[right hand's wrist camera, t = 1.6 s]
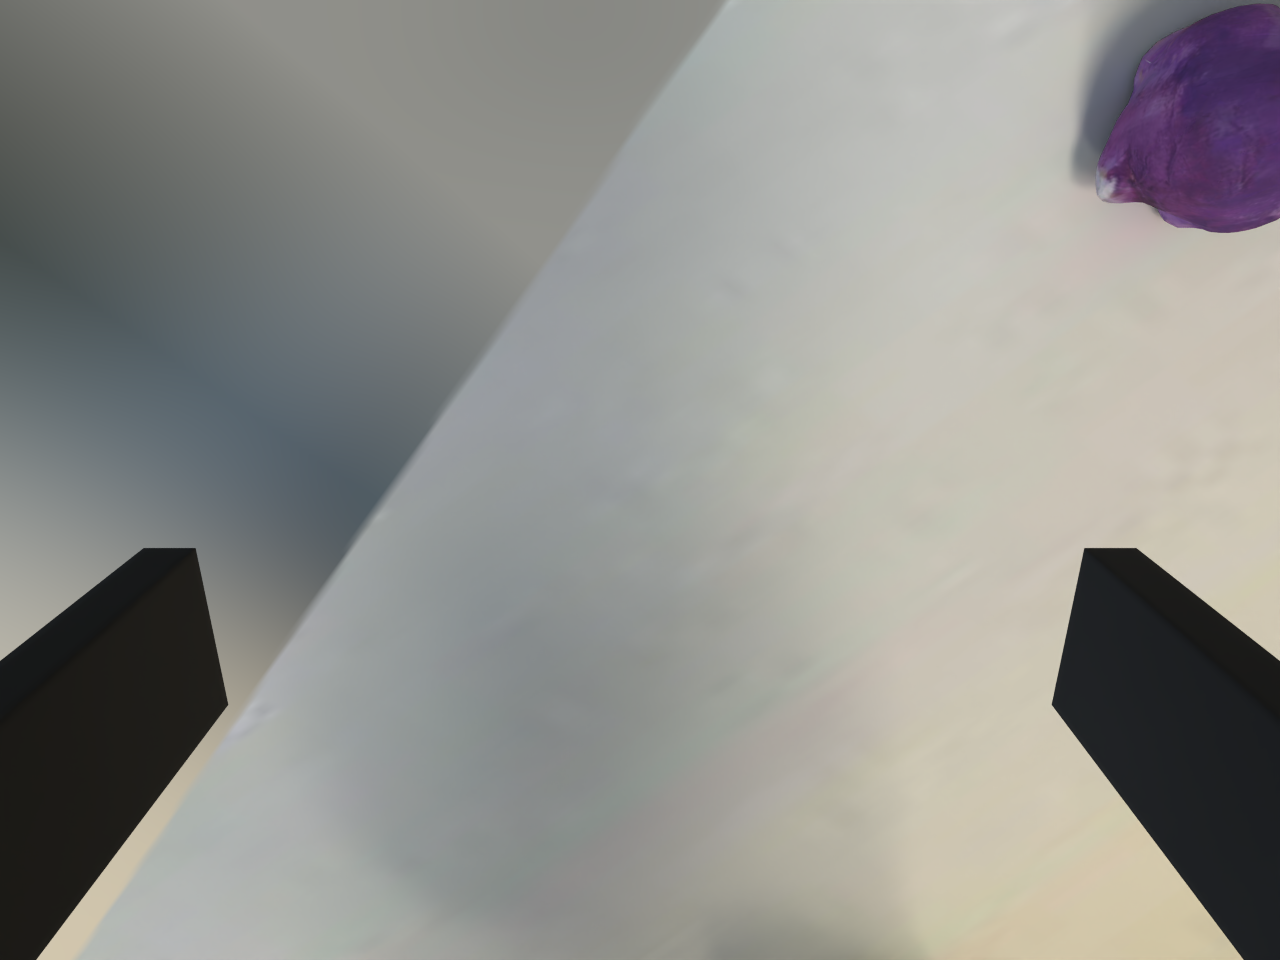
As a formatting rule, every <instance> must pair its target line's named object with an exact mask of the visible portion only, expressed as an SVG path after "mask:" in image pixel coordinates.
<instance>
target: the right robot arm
mask: <svg viewBox="0 0 1280 960" xmlns="http://www.w3.org/2000/svg"><path fill="white" fill-rule="evenodd" d="M227 706H228V701H227V697H226V692H225V687H224V682H223V677H222V673H221V668H220V663H219V658H218V654H217V649H216V644H215V639H214V634H213V629H212V625H211V620H210V615H209V610H208V606H207V601H206V596H205V591H204V586H203V582H202V577H201V572H200V567H199V562H198V558H197V553H196V549H195V548H143V549H142V550H141V551H140V552H138V553H137V554H136V555H134V556H133V557H132V558H131V559H129V560H128V561H127V562H125V563H124V564H123V565H122V566H120V567H119V568H118V569H117V570H115V571H114V572H113V573H111V574H110V575H109V576H108V577H106V578H105V579H104V580H103V581H101V582H100V583H99V584H97V585H96V586H95V587H94V588H92V589H91V590H90V591H89V592H87V593H86V594H85V595H84V596H82V597H81V598H80V599H78V600H77V601H76V602H75V603H73V604H72V605H71V606H70V607H68V608H67V609H66V610H64V611H63V612H62V613H61V614H59V615H58V616H57V617H56V618H54V619H53V620H52V621H50V622H49V623H48V624H47V625H45V626H44V627H43V628H42V629H40V630H39V631H38V632H36V633H35V634H34V635H33V636H31V637H30V638H29V639H28V640H26V641H25V642H24V643H22V644H21V645H20V646H19V647H17V648H16V649H15V650H14V651H12V652H11V653H10V654H8V655H7V656H6V657H5V658H3V659H2V660H1V661H0V960H36V959H37V958H38V957H39V955H40V954H41V953H42V951H43V950H44V949H45V947H46V946H47V945H48V943H49V942H50V941H51V939H52V938H53V937H54V935H55V934H56V933H57V931H58V930H59V929H60V927H61V926H62V925H63V923H64V922H65V921H66V919H67V918H68V917H69V915H70V914H71V913H72V911H73V910H74V909H75V908H76V906H77V905H78V904H79V902H80V901H81V899H82V898H83V897H84V896H85V894H86V893H87V892H88V890H89V889H90V888H91V886H92V885H93V884H94V882H95V881H96V880H97V878H98V877H99V876H100V874H101V873H102V872H103V870H104V869H105V868H106V866H107V865H108V864H109V862H110V861H111V860H112V858H113V857H114V856H115V854H116V853H117V852H118V850H119V849H120V848H121V846H122V845H123V844H124V842H125V841H126V840H127V838H128V837H129V836H130V835H131V833H132V832H133V831H134V829H135V828H136V826H137V825H138V824H139V822H140V821H141V820H142V819H143V817H144V816H145V815H146V813H147V812H148V811H149V809H150V808H151V807H152V805H153V804H154V803H155V801H156V800H157V799H158V797H159V796H160V795H161V793H162V792H163V791H164V789H165V788H166V787H167V785H168V784H169V783H170V781H171V780H172V779H173V777H174V776H175V775H176V773H177V772H178V771H179V769H180V768H181V767H182V765H183V764H184V763H185V761H186V760H187V759H188V757H189V756H190V755H191V753H192V752H193V751H194V750H195V748H196V747H197V746H198V744H199V743H200V742H201V740H202V739H203V738H204V736H205V735H206V734H207V732H208V731H209V730H210V728H211V727H212V726H213V724H214V723H215V722H216V720H217V719H218V718H219V716H220V715H221V714H222V712H223V711H224V710H225V708H226V707H227ZM1052 706H1053V707H1054V708H1055V710H1056V711H1057V712H1058V714H1059V715H1060V716H1061V718H1062V719H1063V720H1064V722H1065V723H1066V724H1067V726H1068V727H1069V728H1070V730H1071V731H1072V732H1073V734H1074V735H1075V736H1076V738H1077V739H1078V740H1079V742H1080V743H1081V744H1082V746H1083V747H1084V748H1085V750H1086V751H1087V752H1088V754H1089V755H1090V756H1091V757H1092V759H1093V760H1094V761H1095V763H1096V764H1097V765H1098V767H1099V768H1100V769H1101V771H1102V772H1103V773H1104V775H1105V776H1106V777H1107V779H1108V780H1109V781H1110V783H1111V784H1112V785H1113V787H1114V788H1115V789H1116V791H1117V792H1118V793H1119V795H1120V796H1121V797H1122V799H1123V800H1124V801H1125V803H1126V804H1127V805H1128V807H1129V808H1130V809H1131V811H1132V812H1133V813H1134V815H1135V816H1136V817H1137V819H1138V820H1139V821H1140V823H1141V824H1142V825H1143V827H1144V828H1145V829H1146V831H1147V832H1148V833H1149V835H1150V836H1151V837H1152V838H1153V840H1154V841H1155V842H1156V844H1157V845H1158V846H1159V848H1160V849H1161V850H1162V852H1163V853H1164V854H1165V856H1166V857H1167V858H1168V860H1169V861H1170V862H1171V864H1172V865H1173V866H1174V868H1175V869H1176V870H1177V872H1178V873H1179V874H1180V876H1181V877H1182V878H1183V880H1184V881H1185V882H1186V884H1187V885H1188V886H1189V888H1190V889H1191V890H1192V892H1193V893H1194V894H1195V896H1196V897H1197V898H1198V900H1199V901H1200V902H1201V904H1202V905H1203V906H1204V908H1205V909H1206V910H1207V912H1208V913H1209V914H1210V916H1211V917H1212V918H1213V919H1214V921H1215V922H1216V923H1217V925H1218V926H1219V927H1220V929H1221V930H1222V931H1223V933H1224V934H1225V935H1226V937H1227V938H1228V939H1229V941H1230V942H1231V943H1232V945H1233V946H1234V947H1235V949H1236V950H1237V951H1238V953H1239V954H1240V955H1241V957H1242V958H1243V959H1244V960H1280V661H1279V660H1278V659H1277V658H1275V657H1274V656H1273V655H1272V654H1270V653H1269V652H1268V651H1266V650H1265V649H1264V648H1263V647H1261V646H1260V645H1259V644H1258V643H1256V642H1255V641H1254V640H1252V639H1251V638H1250V637H1249V636H1247V635H1246V634H1245V633H1244V632H1242V631H1241V630H1240V629H1238V628H1237V627H1236V626H1235V625H1233V624H1232V623H1231V622H1230V621H1228V620H1227V619H1226V618H1224V617H1223V616H1222V615H1221V614H1219V613H1218V612H1217V611H1216V610H1214V609H1213V608H1212V607H1210V606H1209V605H1208V604H1207V603H1205V602H1204V601H1203V600H1202V599H1200V598H1199V597H1198V596H1196V595H1195V594H1194V593H1193V592H1191V591H1190V590H1189V589H1188V588H1186V587H1185V586H1184V585H1183V584H1181V583H1180V582H1179V581H1177V580H1176V579H1175V578H1174V577H1172V576H1171V575H1170V574H1169V573H1167V572H1166V571H1165V570H1163V569H1162V568H1161V567H1160V566H1158V565H1157V564H1156V563H1155V562H1153V561H1152V560H1151V559H1149V558H1148V557H1147V556H1146V555H1144V554H1143V553H1142V552H1141V551H1139V550H1138V549H1137V548H1084V553H1083V558H1082V562H1081V567H1080V572H1079V577H1078V582H1077V586H1076V591H1075V596H1074V601H1073V606H1072V610H1071V615H1070V620H1069V625H1068V629H1067V634H1066V639H1065V644H1064V649H1063V653H1062V658H1061V663H1060V668H1059V673H1058V677H1057V682H1056V687H1055V692H1054V697H1053V701H1052Z"/></svg>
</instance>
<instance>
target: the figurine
mask: <svg viewBox="0 0 1280 960" xmlns="http://www.w3.org/2000/svg"><path fill="white" fill-rule="evenodd" d="M1096 191H1097V195H1098V197H1099V198H1100V199H1101V200H1102V201H1104V202H1107V203H1128V202H1143V203H1146V204H1148V205H1151V206H1153V207H1155V208H1157V209H1158V211H1159V213H1160V215H1161V217H1162V218H1163V219H1164V221H1166V222H1168V223H1169V224H1171V225H1173V226H1175V227H1177V228H1199V229H1204V230H1206V231H1210V232H1218V233H1231V232H1240V231H1245V230H1249V229H1253V228H1257V227H1260V226H1262V225H1265V224H1268V223H1270V222H1273V221H1275V220H1277V219H1279V218H1280V8H1279V7H1278V6H1276V5H1273V4H1252V5H1244V6H1238V7H1234V8H1231V9H1227V10H1224V11H1221V12H1218V13H1216V14H1213V15H1210V16H1208V17H1206V18H1204V19H1201V20H1199V21H1197V22H1195V23H1194V24H1192V25H1190V26H1188V27H1186V28H1183V29H1181V30H1178V31H1176V32H1174V33H1172V34H1170V35H1168V36H1167V37H1165V38H1163V39H1161V40H1160V41H1158V42H1156V43H1155V44H1154V46H1153V47H1152V48H1151V49H1150V50H1149V51H1148V52H1147V53H1146V54H1145V55H1144V56H1143V57H1142V60H1141V62H1140V64H1139V67H1138V70H1137V73H1136V75H1135V78H1134V90H1133V93H1132V95H1131V98H1130V100H1129V103H1128V105H1127V106H1126V107H1125V109H1124V110H1123V112H1122V113H1121V115H1120V116H1119V118H1118V120H1117V121H1116V124H1115V126H1114V128H1113V130H1112V133H1111V135H1110V137H1109V139H1108V141H1107V144H1106V146H1105V148H1104V150H1103V152H1102V154H1101V156H1100V159H1099V162H1098V165H1097V170H1096Z"/></svg>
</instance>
